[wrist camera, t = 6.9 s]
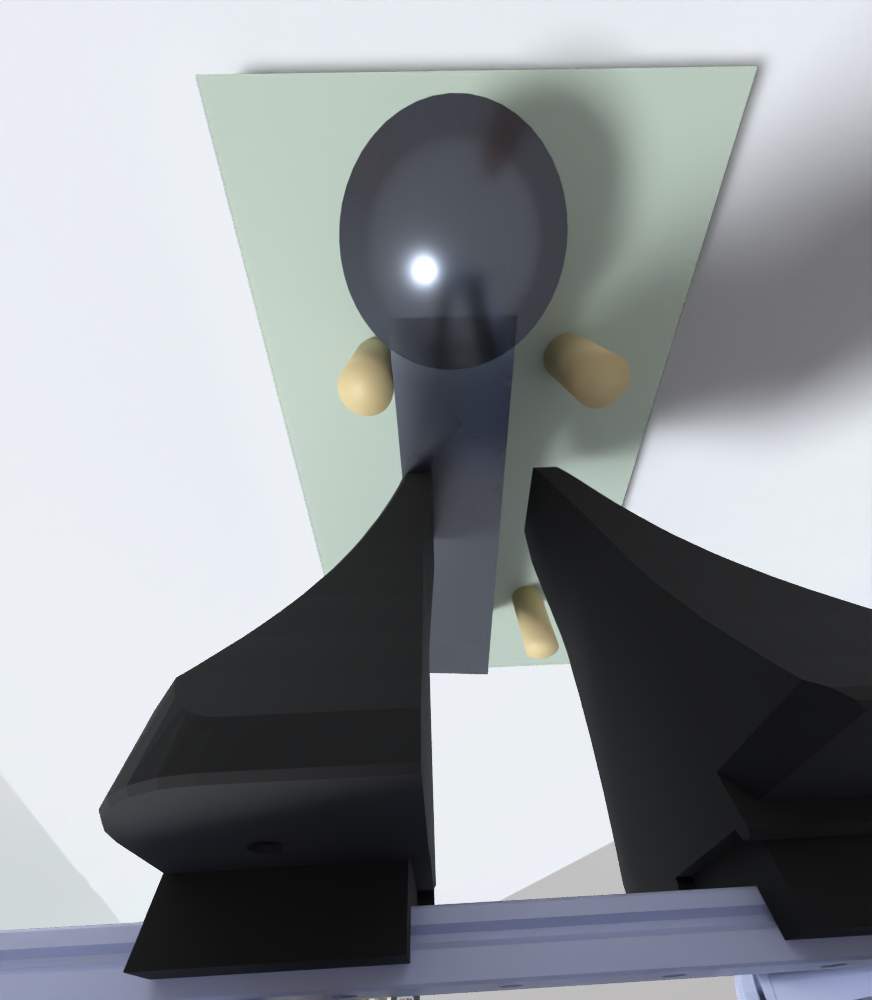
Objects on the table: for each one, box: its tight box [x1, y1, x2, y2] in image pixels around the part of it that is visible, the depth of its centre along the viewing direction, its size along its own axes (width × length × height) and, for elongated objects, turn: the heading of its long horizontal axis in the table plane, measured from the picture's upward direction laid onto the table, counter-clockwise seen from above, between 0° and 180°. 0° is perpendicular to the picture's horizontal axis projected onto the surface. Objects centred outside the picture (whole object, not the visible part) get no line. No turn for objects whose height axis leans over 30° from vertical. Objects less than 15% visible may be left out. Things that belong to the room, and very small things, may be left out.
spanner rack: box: [195, 66, 758, 667], centre depth 12 cm, size 20×11×4 cm, turn 1°
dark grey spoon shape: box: [339, 93, 568, 674], centre depth 11 cm, size 15×4×3 cm, turn 2°
